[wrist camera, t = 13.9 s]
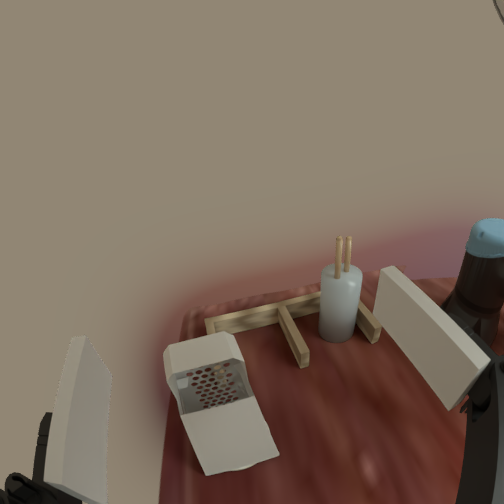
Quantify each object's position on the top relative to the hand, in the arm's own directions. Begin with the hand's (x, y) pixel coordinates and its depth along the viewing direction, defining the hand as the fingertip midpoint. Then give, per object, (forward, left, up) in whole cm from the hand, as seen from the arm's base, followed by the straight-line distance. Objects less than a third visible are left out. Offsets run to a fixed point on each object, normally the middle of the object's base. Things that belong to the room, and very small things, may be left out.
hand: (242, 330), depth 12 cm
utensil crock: (-20, -26, -32) cm, 45 cm away
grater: (+3, -10, -31) cm, 33 cm away
